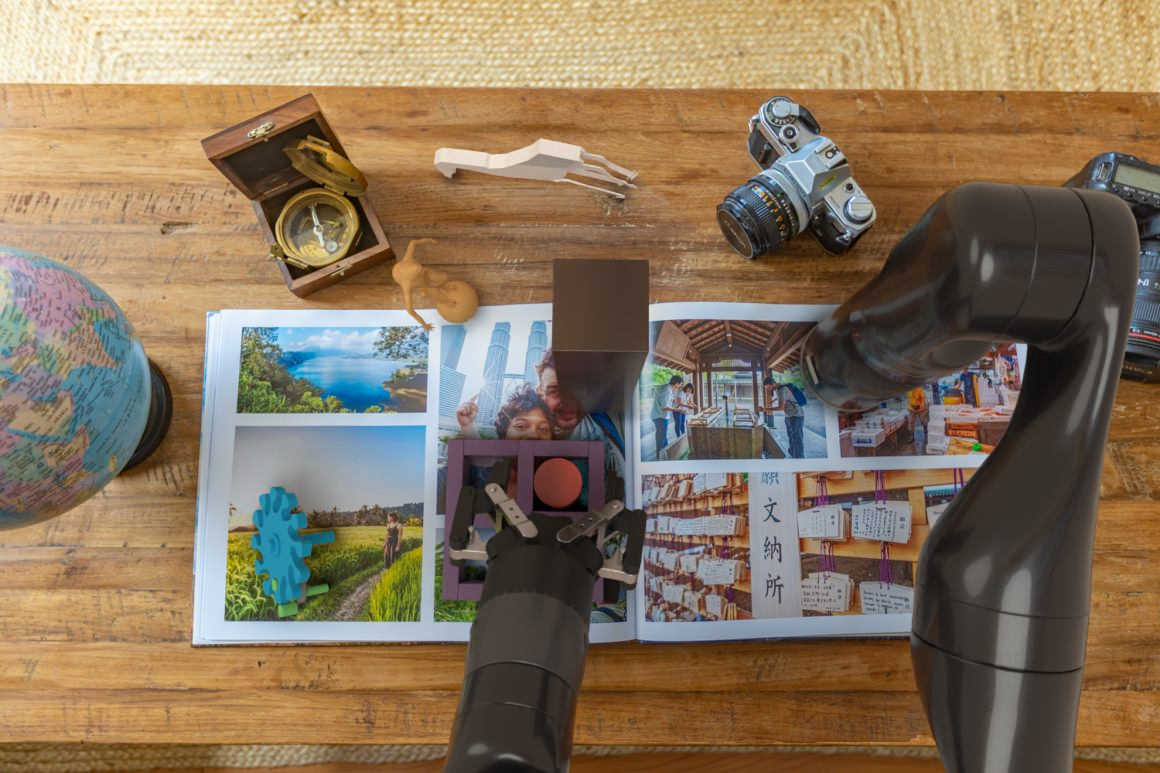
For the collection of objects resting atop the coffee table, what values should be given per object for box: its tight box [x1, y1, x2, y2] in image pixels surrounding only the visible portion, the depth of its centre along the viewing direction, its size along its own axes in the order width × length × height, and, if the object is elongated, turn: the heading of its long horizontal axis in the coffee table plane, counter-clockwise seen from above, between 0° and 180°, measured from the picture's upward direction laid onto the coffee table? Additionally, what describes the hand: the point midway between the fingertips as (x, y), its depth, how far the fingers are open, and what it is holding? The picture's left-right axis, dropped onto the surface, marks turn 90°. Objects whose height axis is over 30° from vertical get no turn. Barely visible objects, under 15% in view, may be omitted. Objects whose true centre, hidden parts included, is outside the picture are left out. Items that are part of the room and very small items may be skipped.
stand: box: [551, 257, 650, 414], centre depth 62 cm, size 6×6×26 cm
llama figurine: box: [433, 137, 639, 199], centre depth 75 cm, size 2×11×18 cm
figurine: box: [391, 237, 480, 332], centre depth 70 cm, size 8×6×12 cm
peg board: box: [441, 438, 606, 603], centre depth 70 cm, size 14×14×4 cm
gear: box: [250, 485, 336, 618], centre depth 69 cm, size 11×6×10 cm
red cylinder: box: [534, 458, 583, 510], centre depth 69 cm, size 4×4×8 cm
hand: (560, 470), depth 64 cm, fingers open, 8 cm apart
